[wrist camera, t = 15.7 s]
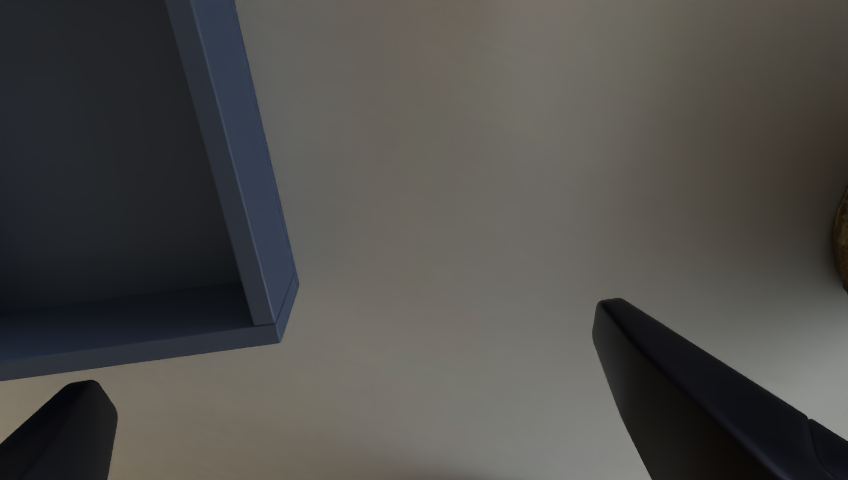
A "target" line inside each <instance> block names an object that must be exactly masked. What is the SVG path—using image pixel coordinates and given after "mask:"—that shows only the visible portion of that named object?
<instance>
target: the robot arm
mask: <svg viewBox="0 0 848 480" xmlns="http://www.w3.org/2000/svg"><path fill="white" fill-rule="evenodd" d="M592 337H593V342H594V345H595V348H596V351H597V354H598V356H599V359H600V362H601V364H602V367H603V370H604V373H605V375H606V378H607V381H608V384H609V386H610V389H611V392H612V394H613V397H614V400H615V403H616V405H617V408H618V410H619V413H620V415H621V418H622V420H623V422H624V424H625V426H626V429H627V431H628V433H629V435H630V437H631V439H632V441H633V443H634V445H635V447H636V449H637V451H638V453H639V455H640V457H641V459H642V461H643V463H644V465H645V467H646V469H647V471H648V473H649V475H650V477H651V479H652V480H848V441H846V440H845V439H843V438H841V437H840V436H838V435H837V434H835V433H833V432H832V431H830V430H829V429H827V428H826V427H824V426H822V425H821V424H819V423H818V422H816V421H815V420H813V419H809V420H808V418H807V416H806V415H805V414H803V413H802V412H800V411H799V410H797V409H795V408H794V407H792V406H791V405H789V404H787V403H786V402H784V401H783V400H781V399H780V398H778V397H776V396H775V395H773V394H772V393H770V392H769V391H767V390H765V389H764V388H762V387H761V386H759V385H758V384H756V383H754V382H753V381H751V380H750V379H748V378H747V377H745V376H743V375H742V374H740V373H739V372H737V371H736V370H734V369H732V368H731V367H729V366H728V365H726V364H725V363H723V362H721V361H720V360H718V359H717V358H715V357H714V356H712V355H710V354H709V353H707V352H706V351H704V350H703V349H701V348H699V347H698V346H696V345H695V344H693V343H692V342H690V341H688V340H687V339H685V338H684V337H682V336H681V335H679V334H677V333H676V332H674V331H673V330H671V329H670V328H668V327H666V326H665V325H663V324H662V323H660V322H659V321H657V320H655V319H654V318H652V317H651V316H649V315H647V314H646V313H644V312H643V311H641V310H640V309H638V308H636V307H635V306H633V305H632V304H630V303H629V302H627V301H625V300H624V299H621V298H613V299H606V300H601V301H599V302H598V304H597V306H596V311H595V318H594V324H593V330H592ZM117 420H118V416H117V411H116V408H115V406H114V405H113V403H112V402H111V400H110V399H109V397H108V396H107V394H106V393H105V392H104V390H103V389H102V387H101V386H100V384H99V383H98V382H96V381H94V380H86V381H80V382H74V383H70V384H68V385H66V386H65V387H63V388H62V389H61V390H60V391H59V392H58V393H57V394H55V395H54V396H53V397H52V398H51V399H50V400H49V401H48V402H47V403H45V404H44V405H43V406H42V407H41V408H40V409H39V410H38V411H36V412H35V413H34V414H33V415H32V416H31V417H30V418H29V419H28V420H26V421H25V422H24V423H23V424H22V425H21V426H20V427H19V428H17V429H16V430H15V431H14V432H13V433H12V434H11V435H10V436H9V437H7V438H6V439H5V440H4V441H3V442H2V443H1V444H0V480H107V479H108V474H109V468H110V462H111V456H112V450H113V445H114V439H115V433H116V427H117Z"/></svg>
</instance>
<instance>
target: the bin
mask: <svg viewBox="0 0 848 480" xmlns="http://www.w3.org/2000/svg"><path fill="white" fill-rule="evenodd" d="M298 288H299V281H298V277H297V273H296V268H295V264H294V260H293V255H292V251H291V247H290V242H289V238H288V234H287V229H286V225H285V221H284V216H283V212H282V208H281V203H280V199H279V195H278V190H277V186H276V182H275V177H274V173H273V169H272V164H271V160H270V156H269V151H268V147H267V143H266V138H265V134H264V130H263V125H262V121H261V117H260V112H259V108H258V104H257V99H256V95H255V91H254V86H253V82H252V77H251V73H250V69H249V64H248V60H247V56H246V51H245V47H244V43H243V38H242V34H241V30H240V25H239V21H238V17H237V12H236V8H235V4H234V0H0V381H6V380H14V379H21V378H28V377H35V376H43V375H50V374H57V373H65V372H72V371H79V370H87V369H94V368H101V367H108V366H116V365H123V364H130V363H138V362H145V361H152V360H160V359H167V358H174V357H181V356H189V355H196V354H203V353H211V352H218V351H225V350H233V349H240V348H247V347H254V346H262V345H269V344H276V343H280V342H281V340H282V337H283V334H284V331H285V328H286V325H287V322H288V318H289V315H290V312H291V309H292V306H293V303H294V300H295V297H296V294H297V290H298Z"/></svg>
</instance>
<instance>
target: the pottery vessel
mask: <svg viewBox="0 0 848 480" xmlns="http://www.w3.org/2000/svg"><path fill="white" fill-rule="evenodd" d="M833 241H834V247H835V249H836V256H837V258H836V269H837V272H838V273H839V275H840V277H841V278H842V281H843V288H844V289H845V290H846V292H847V294H848V189H847V192H846V194H845V196H844V198H843V200H842V202H841V205H840V207H839V209H838V212H837V215H836V221H835V226H834V236H833Z"/></svg>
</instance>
